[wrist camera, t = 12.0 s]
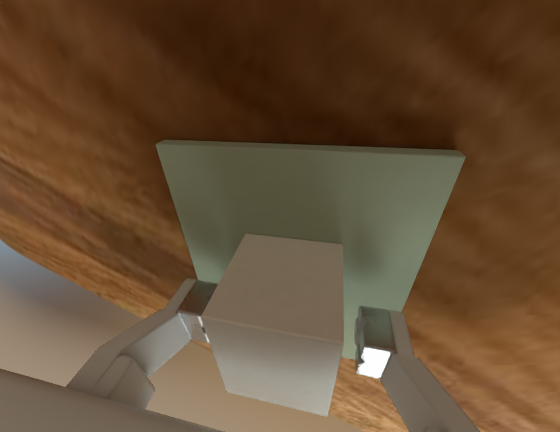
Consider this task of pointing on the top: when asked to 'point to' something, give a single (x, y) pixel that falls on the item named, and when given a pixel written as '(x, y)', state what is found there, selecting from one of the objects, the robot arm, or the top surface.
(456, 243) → the top surface
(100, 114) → the top surface
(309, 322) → the block
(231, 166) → the desk mat
